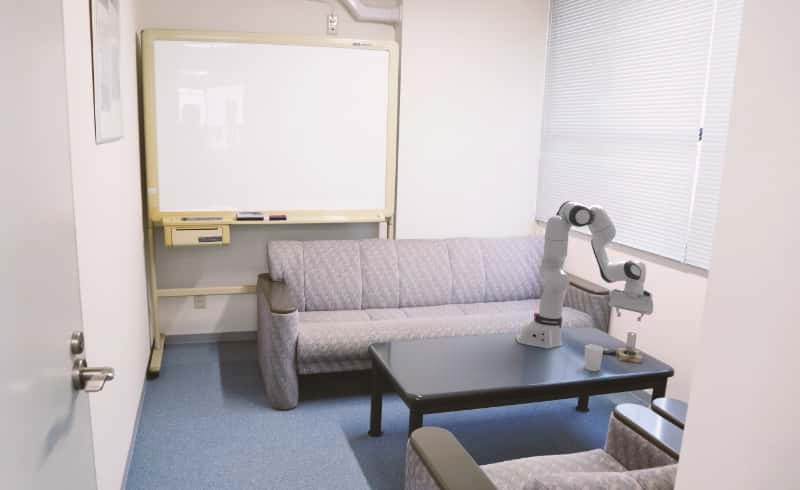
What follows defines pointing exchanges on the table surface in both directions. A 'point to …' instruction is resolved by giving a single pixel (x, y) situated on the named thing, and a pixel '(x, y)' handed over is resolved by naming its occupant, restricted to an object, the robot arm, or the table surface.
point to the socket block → (629, 356)
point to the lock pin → (609, 351)
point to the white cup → (593, 357)
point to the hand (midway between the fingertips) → (628, 318)
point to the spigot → (631, 343)
